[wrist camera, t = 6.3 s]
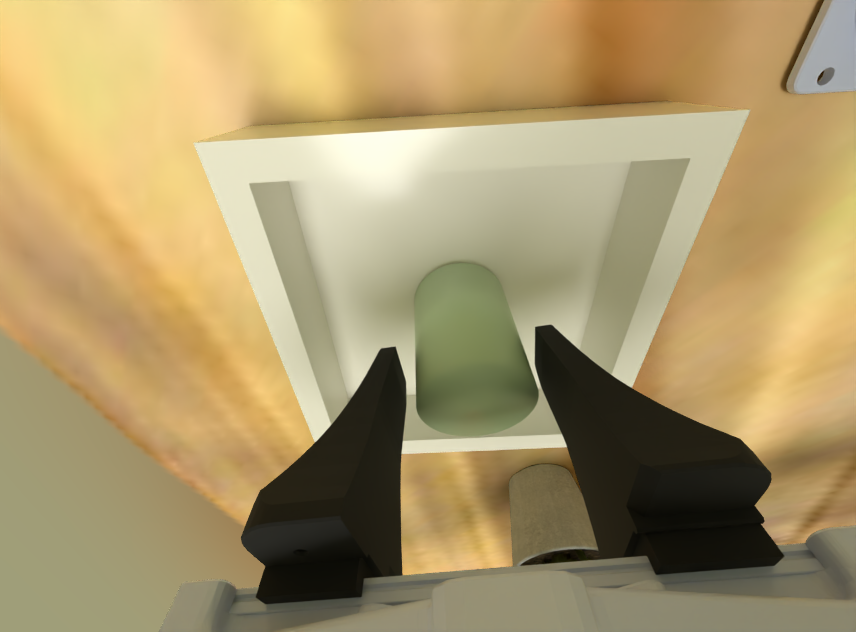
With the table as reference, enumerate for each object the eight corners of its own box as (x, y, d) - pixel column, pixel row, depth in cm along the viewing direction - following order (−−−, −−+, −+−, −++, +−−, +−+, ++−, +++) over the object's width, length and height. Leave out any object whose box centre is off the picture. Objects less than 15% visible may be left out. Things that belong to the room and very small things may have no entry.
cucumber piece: (501, 255, 15) (540, 353, 11) (504, 326, 18) (537, 428, 13) (405, 272, 16) (403, 374, 11) (423, 339, 18) (428, 442, 14)
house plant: (477, 536, 34) (511, 826, 21) (416, 468, 27) (411, 847, 14) (623, 504, 31) (774, 827, 18) (599, 417, 24) (825, 854, 10)
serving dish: (667, 100, 13) (750, 109, 10) (579, 390, 22) (607, 445, 19) (250, 125, 13) (193, 142, 10) (335, 401, 22) (321, 457, 19)
